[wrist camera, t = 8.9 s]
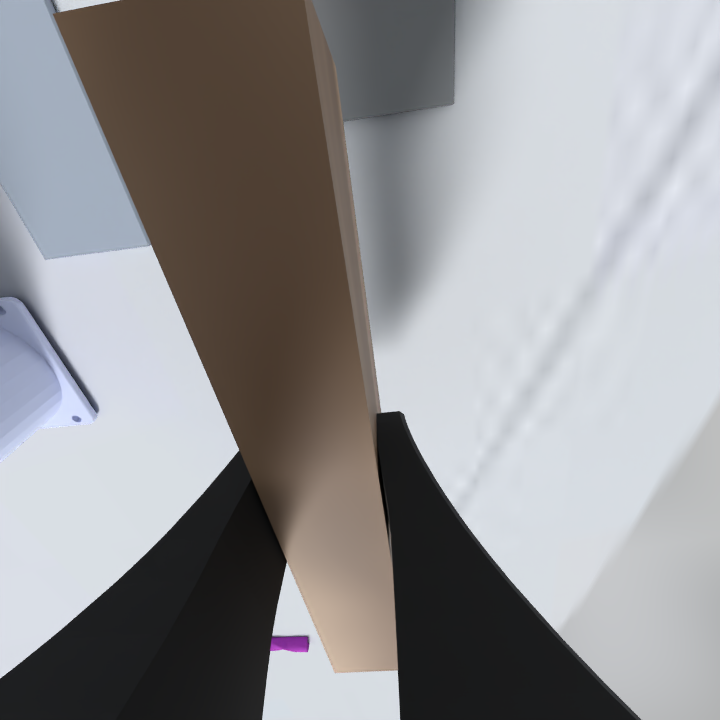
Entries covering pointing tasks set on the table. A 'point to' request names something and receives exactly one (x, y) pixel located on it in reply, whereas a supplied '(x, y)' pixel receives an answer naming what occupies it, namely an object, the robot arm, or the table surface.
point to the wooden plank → (261, 270)
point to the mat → (390, 54)
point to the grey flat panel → (57, 143)
